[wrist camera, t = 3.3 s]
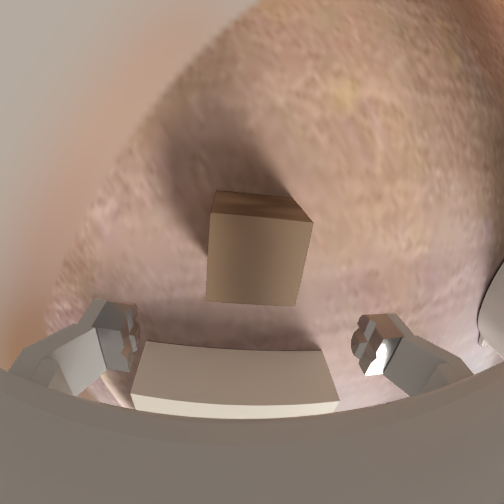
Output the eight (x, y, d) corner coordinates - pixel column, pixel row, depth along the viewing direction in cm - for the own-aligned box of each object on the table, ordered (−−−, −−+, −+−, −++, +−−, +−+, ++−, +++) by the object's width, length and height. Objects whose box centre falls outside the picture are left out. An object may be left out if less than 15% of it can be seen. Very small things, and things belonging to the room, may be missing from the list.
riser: (322, 350, 24) (339, 400, 18) (286, 430, 30) (293, 467, 25) (146, 340, 22) (130, 393, 17) (164, 425, 29) (159, 463, 23)
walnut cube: (292, 198, 18) (313, 222, 13) (280, 265, 20) (294, 306, 15) (216, 190, 17) (210, 212, 13) (211, 260, 19) (205, 301, 15)
